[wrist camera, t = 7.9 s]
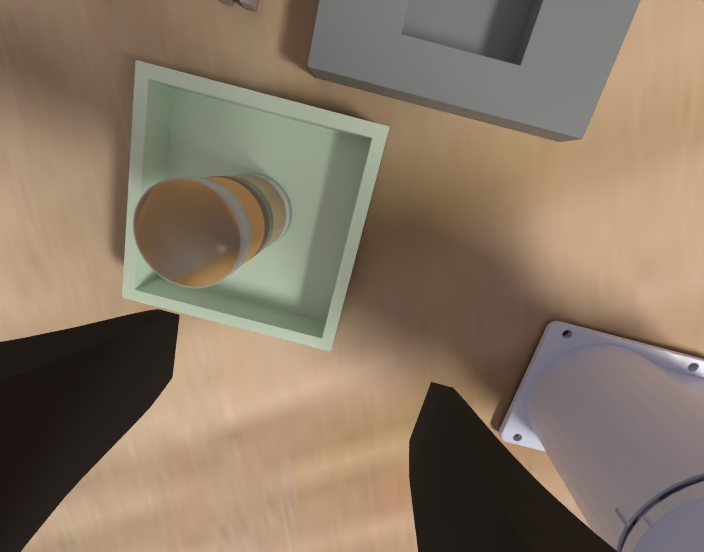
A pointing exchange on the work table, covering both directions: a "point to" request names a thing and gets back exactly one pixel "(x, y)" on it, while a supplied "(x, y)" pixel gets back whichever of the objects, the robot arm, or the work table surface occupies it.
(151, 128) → the parts tray
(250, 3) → the puller tool
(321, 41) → the fuse block
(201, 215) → the fuse
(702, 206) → the work table surface
